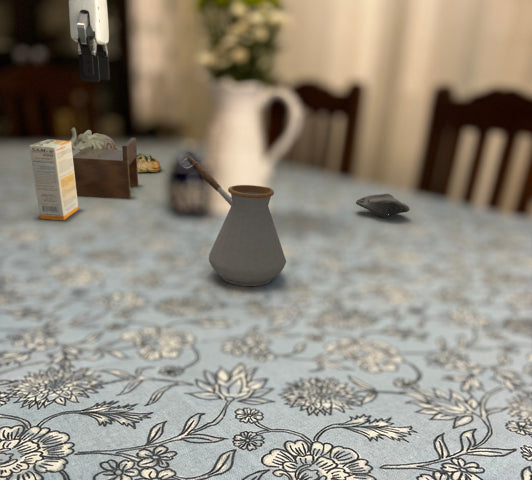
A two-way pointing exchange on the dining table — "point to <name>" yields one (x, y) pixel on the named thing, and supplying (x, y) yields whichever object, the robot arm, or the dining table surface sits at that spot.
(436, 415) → the dining table surface
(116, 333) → the dining table surface
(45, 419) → the dining table surface
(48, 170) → the supplement box
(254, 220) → the coffee pot
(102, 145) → the figurine
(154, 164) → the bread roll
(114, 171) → the dark wooden step block
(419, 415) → the dining table surface
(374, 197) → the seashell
